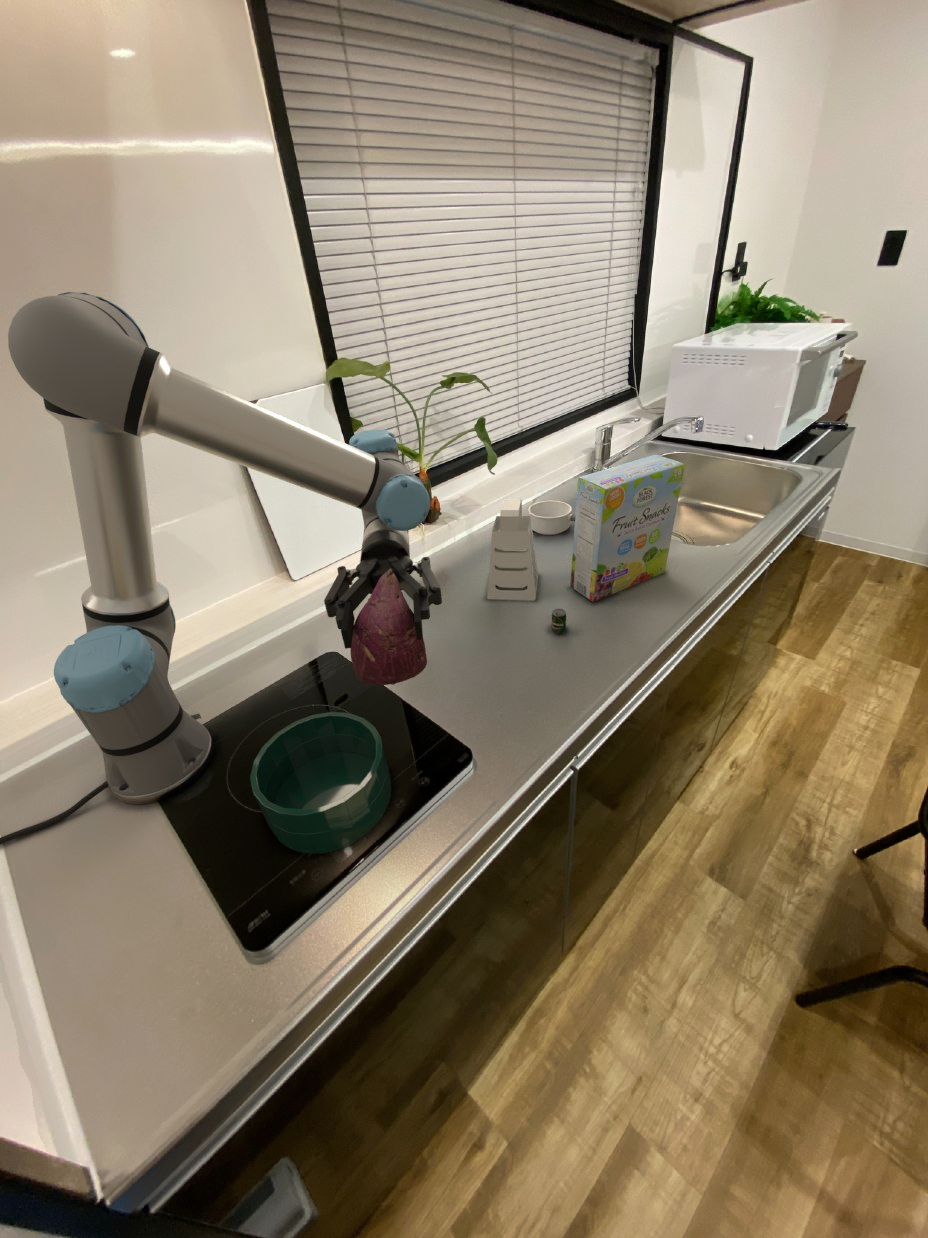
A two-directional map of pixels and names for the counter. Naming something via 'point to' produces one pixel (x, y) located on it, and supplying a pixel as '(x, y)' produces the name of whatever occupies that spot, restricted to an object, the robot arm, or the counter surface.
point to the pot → (322, 782)
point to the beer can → (558, 621)
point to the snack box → (624, 525)
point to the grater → (512, 554)
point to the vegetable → (386, 637)
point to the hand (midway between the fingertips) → (382, 635)
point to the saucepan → (550, 517)
